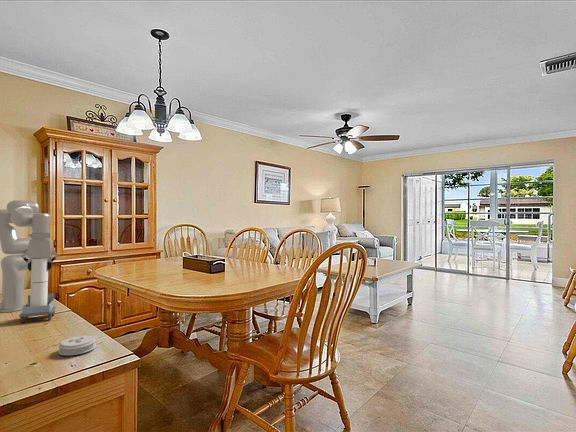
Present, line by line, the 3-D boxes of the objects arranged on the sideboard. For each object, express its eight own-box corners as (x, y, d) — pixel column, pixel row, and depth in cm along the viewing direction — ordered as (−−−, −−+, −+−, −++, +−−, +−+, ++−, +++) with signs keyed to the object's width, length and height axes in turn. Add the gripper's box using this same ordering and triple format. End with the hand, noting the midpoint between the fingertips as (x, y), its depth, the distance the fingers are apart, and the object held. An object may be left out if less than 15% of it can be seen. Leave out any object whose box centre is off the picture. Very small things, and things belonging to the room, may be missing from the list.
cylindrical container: (39, 307, 163) (41, 258, 163) (26, 307, 163) (27, 258, 163) (50, 303, 170) (52, 257, 170) (37, 303, 170) (39, 257, 170)
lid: (99, 343, 135) (99, 332, 135) (91, 355, 123) (91, 342, 123) (64, 347, 131) (64, 334, 131) (52, 359, 119) (53, 346, 119)
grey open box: (25, 317, 168) (26, 295, 169) (55, 314, 174) (56, 292, 175) (19, 323, 158) (19, 300, 158) (51, 320, 164) (51, 297, 164)
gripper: (17, 237, 160) (16, 272, 159) (59, 236, 168) (58, 270, 167) (22, 236, 166) (20, 270, 166) (62, 236, 174) (61, 268, 174)
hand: (39, 269), depth 167 cm, fingers closed on cylindrical container, 7 cm apart
